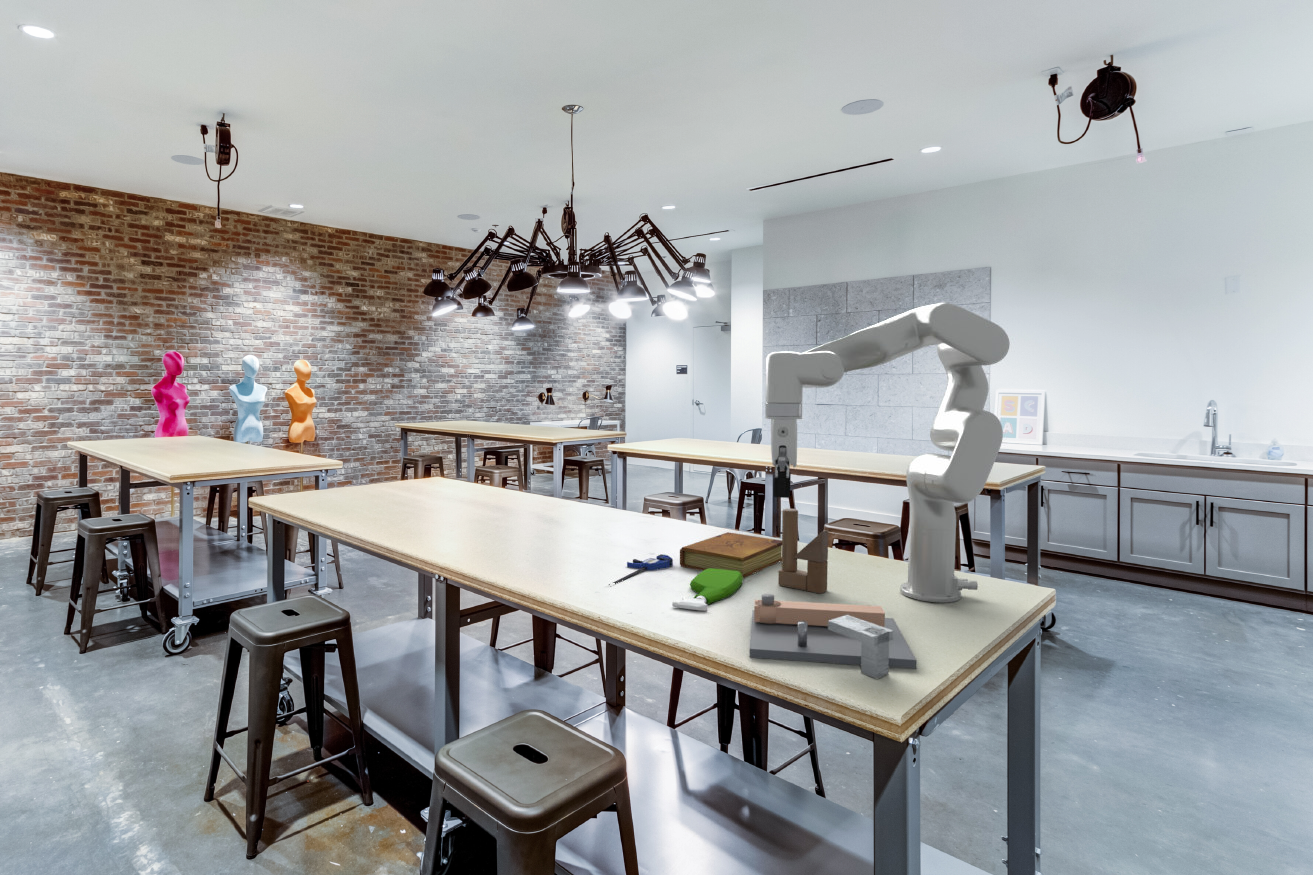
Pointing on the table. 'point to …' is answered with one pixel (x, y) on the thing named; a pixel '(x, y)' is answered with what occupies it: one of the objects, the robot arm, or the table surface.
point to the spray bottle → (711, 588)
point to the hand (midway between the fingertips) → (782, 493)
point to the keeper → (865, 632)
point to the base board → (821, 645)
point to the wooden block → (802, 557)
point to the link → (812, 612)
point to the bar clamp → (649, 565)
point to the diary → (732, 553)
